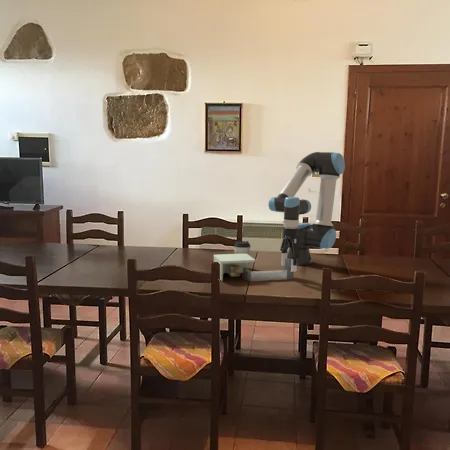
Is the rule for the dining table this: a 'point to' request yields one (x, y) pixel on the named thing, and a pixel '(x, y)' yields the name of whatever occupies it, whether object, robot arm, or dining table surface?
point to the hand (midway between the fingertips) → (288, 268)
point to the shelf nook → (232, 262)
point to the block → (234, 270)
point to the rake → (269, 273)
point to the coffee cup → (242, 248)
